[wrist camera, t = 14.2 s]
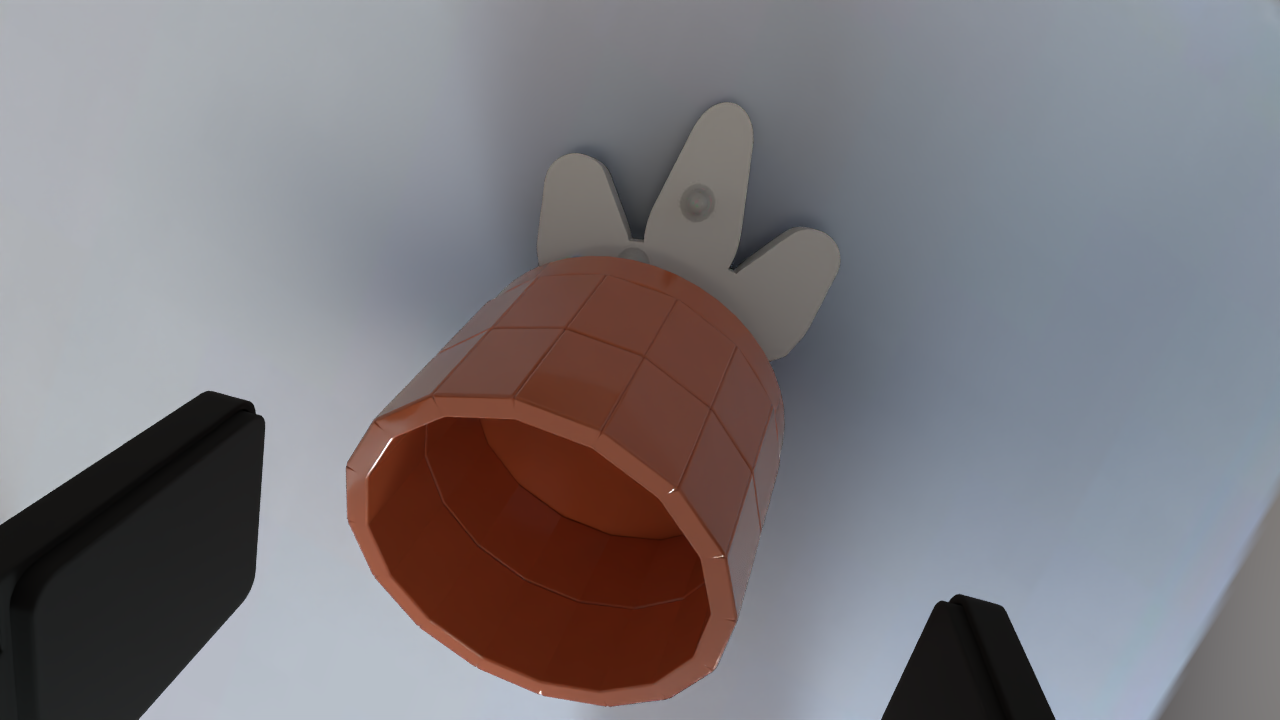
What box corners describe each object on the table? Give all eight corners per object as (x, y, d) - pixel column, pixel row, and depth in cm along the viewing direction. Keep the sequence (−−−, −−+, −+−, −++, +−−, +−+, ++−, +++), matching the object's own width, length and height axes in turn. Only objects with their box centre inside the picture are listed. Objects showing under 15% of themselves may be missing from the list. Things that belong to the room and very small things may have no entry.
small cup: (833, 325, 14) (791, 500, 10) (734, 565, 18) (678, 754, 14) (489, 207, 15) (340, 332, 11) (465, 460, 19) (348, 614, 15)
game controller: (838, 96, 16) (858, 110, 13) (811, 593, 20) (822, 671, 18) (545, 104, 16) (512, 117, 14) (580, 584, 21) (560, 658, 18)
